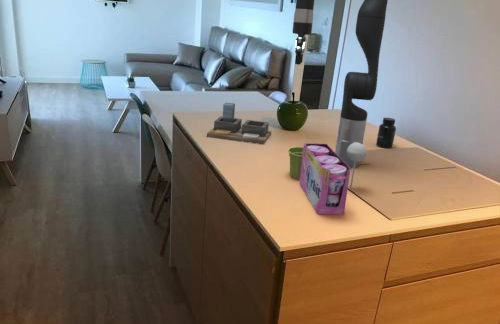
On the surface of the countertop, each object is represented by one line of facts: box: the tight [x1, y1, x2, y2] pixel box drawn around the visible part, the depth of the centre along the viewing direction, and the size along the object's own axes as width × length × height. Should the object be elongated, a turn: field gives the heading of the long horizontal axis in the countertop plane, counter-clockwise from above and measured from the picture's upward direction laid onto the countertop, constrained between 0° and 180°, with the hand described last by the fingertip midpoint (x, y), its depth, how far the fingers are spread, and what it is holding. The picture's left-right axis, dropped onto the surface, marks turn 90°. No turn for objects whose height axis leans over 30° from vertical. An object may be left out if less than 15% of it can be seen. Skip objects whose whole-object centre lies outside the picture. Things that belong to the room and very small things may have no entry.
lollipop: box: [347, 143, 367, 189], centre depth 140 cm, size 6×6×15 cm
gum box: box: [299, 142, 351, 216], centre depth 131 cm, size 24×8×14 cm, turn 7°
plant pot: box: [287, 146, 304, 180], centre depth 148 cm, size 9×9×9 cm
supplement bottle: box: [375, 117, 397, 149], centre depth 188 cm, size 7×7×12 cm
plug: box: [222, 102, 236, 123], centre depth 190 cm, size 4×4×11 cm
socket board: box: [206, 115, 272, 145], centre depth 188 cm, size 16×24×6 cm, turn 77°
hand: (298, 63), depth 181 cm, fingers open, 8 cm apart
